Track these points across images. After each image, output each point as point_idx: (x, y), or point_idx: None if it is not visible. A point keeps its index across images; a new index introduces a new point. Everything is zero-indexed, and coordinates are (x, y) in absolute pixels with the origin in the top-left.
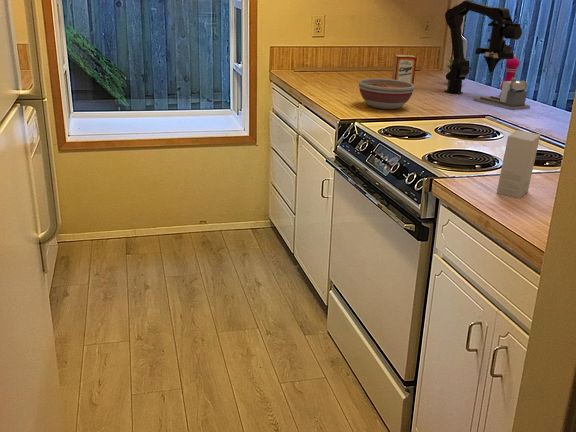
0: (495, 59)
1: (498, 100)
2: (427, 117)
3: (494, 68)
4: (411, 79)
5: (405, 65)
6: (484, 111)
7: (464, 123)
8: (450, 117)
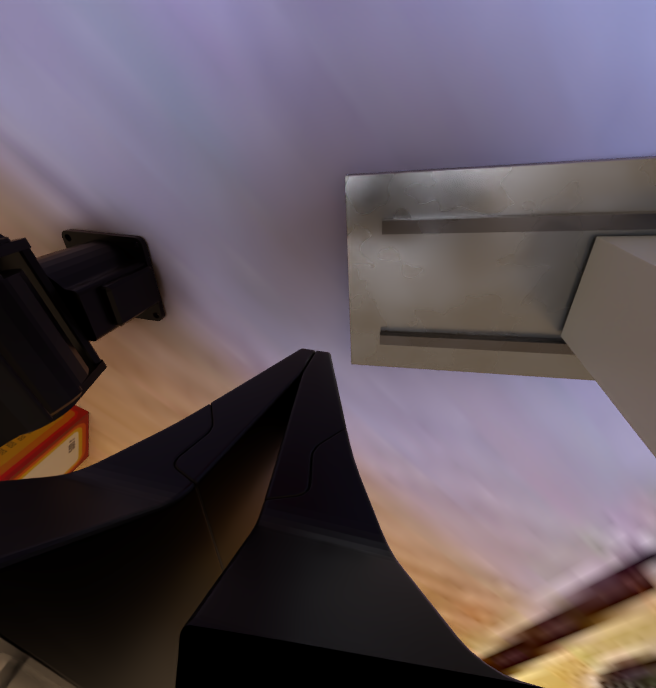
0: (303, 652)
1: (505, 273)
2: (504, 648)
3: (337, 393)
4: (47, 454)
5: None
6: (585, 511)
7: (635, 656)
8: (550, 628)
